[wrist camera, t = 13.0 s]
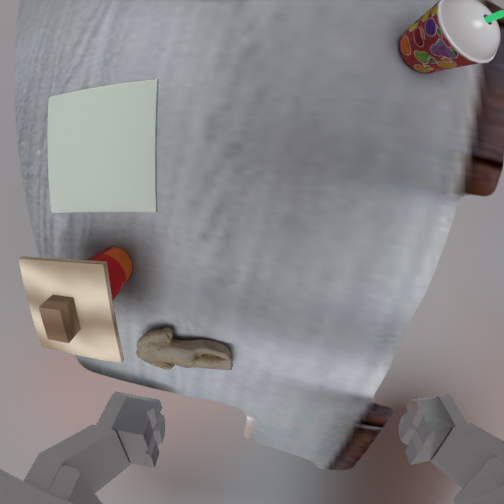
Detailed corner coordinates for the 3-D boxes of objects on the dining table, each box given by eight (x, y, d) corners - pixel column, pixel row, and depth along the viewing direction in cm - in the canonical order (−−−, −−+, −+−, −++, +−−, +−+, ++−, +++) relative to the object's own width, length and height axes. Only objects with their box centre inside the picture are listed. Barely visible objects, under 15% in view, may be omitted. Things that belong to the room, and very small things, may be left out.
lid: (22, 256, 29) (2, 268, 26) (106, 261, 29) (89, 276, 26) (45, 343, 33) (30, 359, 30) (124, 359, 33) (112, 379, 29)
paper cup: (97, 284, 46) (50, 330, 32) (92, 237, 43) (39, 272, 30) (141, 290, 46) (103, 342, 32) (139, 241, 43) (94, 281, 30)
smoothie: (448, 54, 32) (538, 24, 14) (426, 91, 35) (521, 71, 16) (405, 17, 31) (481, -38, 12) (380, 52, 34) (458, 1, 15)
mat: (50, 97, 36) (49, 97, 36) (158, 79, 36) (157, 79, 35) (53, 212, 42) (51, 212, 42) (157, 211, 42) (155, 212, 41)
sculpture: (235, 327, 48) (140, 317, 47) (235, 347, 44) (132, 336, 43) (231, 361, 51) (143, 352, 50) (231, 381, 47) (136, 370, 45)
